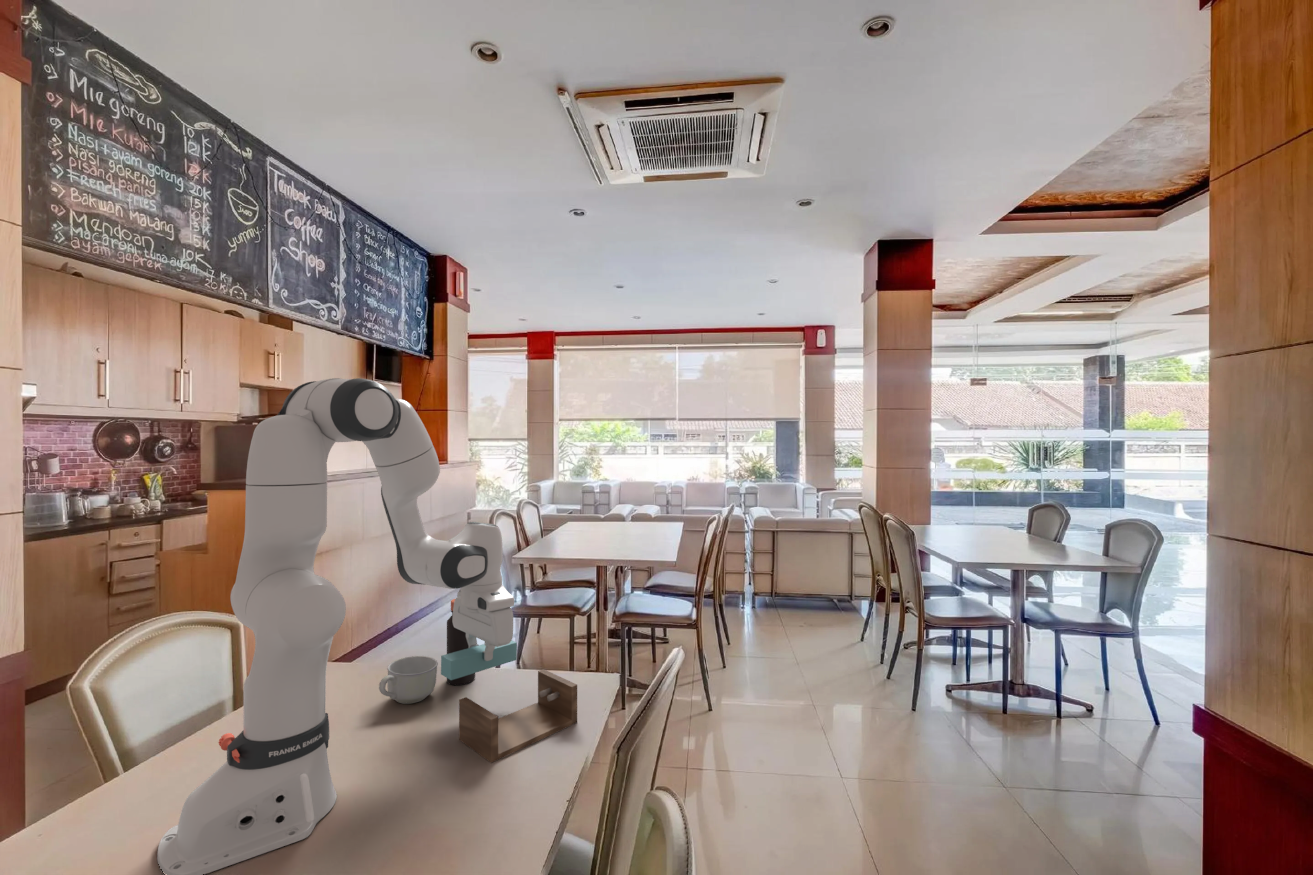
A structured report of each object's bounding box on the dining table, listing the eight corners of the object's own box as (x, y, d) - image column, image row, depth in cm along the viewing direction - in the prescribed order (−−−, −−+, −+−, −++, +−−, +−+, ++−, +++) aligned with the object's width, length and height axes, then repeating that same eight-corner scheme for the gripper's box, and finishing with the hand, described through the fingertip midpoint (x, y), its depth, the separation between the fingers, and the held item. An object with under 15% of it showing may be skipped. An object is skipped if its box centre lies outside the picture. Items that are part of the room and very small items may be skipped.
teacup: (421, 683, 138) (421, 651, 138) (447, 695, 132) (447, 661, 132) (364, 705, 127) (364, 669, 127) (389, 719, 120) (389, 681, 120)
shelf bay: (491, 762, 104) (491, 719, 104) (459, 739, 112) (459, 699, 112) (577, 722, 119) (577, 684, 119) (543, 704, 127) (543, 669, 127)
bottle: (479, 674, 143) (479, 596, 143) (468, 686, 136) (468, 604, 137) (454, 673, 144) (454, 595, 144) (441, 685, 137) (441, 603, 137)
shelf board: (450, 680, 118) (451, 661, 118) (440, 674, 121) (441, 655, 121) (516, 659, 130) (516, 642, 130) (505, 654, 133) (506, 637, 133)
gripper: (445, 588, 130) (444, 648, 130) (493, 605, 117) (491, 672, 116) (470, 583, 135) (469, 641, 135) (519, 599, 121) (518, 664, 121)
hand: (480, 656), depth 125 cm, fingers closed on shelf board, 4 cm apart
